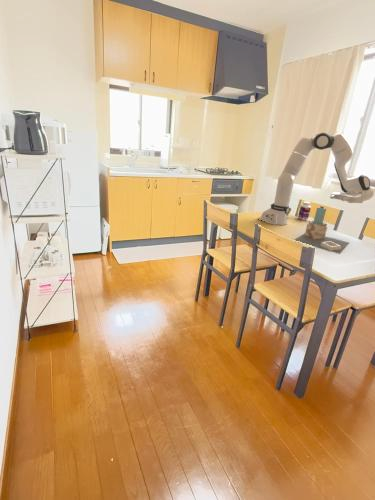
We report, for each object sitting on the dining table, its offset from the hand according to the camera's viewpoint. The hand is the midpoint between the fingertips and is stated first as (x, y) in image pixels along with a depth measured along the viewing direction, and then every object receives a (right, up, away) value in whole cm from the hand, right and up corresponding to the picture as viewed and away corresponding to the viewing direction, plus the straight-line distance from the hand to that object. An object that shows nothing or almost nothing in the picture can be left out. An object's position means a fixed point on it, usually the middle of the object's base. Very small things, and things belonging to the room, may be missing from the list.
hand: (336, 198), depth 183 cm
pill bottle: (-2, -8, +50) cm, 51 cm away
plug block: (-12, -18, +3) cm, 21 cm away
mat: (-12, -30, -3) cm, 32 cm away
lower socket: (-11, -33, -13) cm, 37 cm away
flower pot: (-16, -5, +55) cm, 57 cm away
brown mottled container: (-12, -25, +6) cm, 29 cm away
